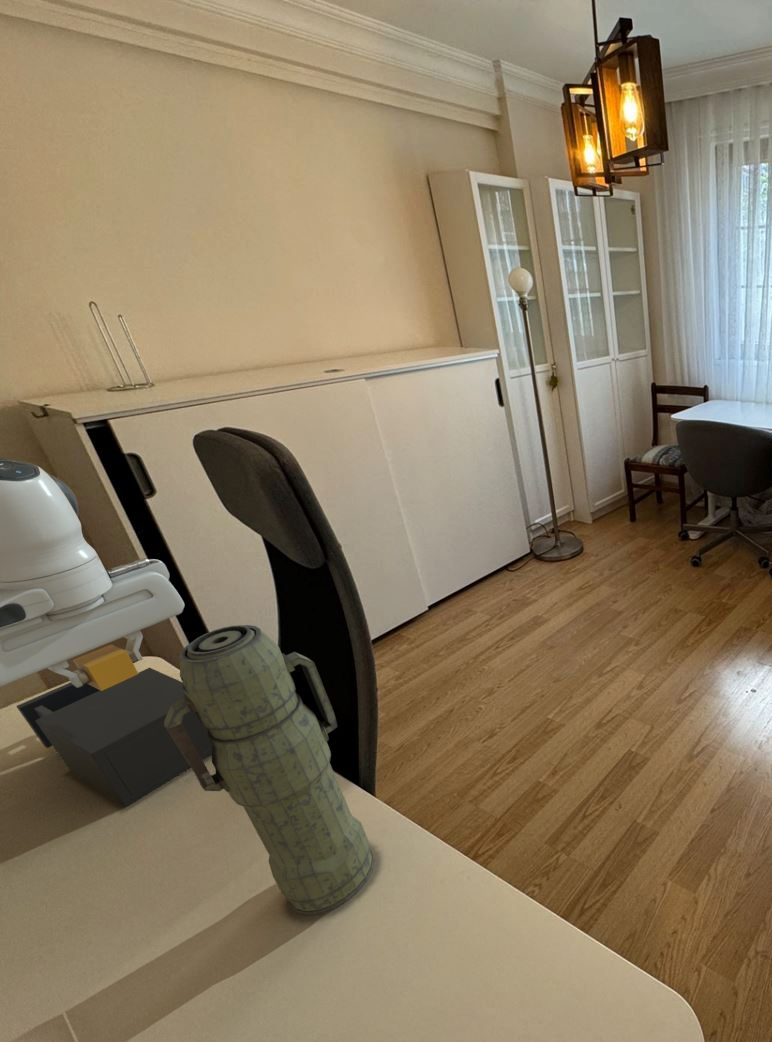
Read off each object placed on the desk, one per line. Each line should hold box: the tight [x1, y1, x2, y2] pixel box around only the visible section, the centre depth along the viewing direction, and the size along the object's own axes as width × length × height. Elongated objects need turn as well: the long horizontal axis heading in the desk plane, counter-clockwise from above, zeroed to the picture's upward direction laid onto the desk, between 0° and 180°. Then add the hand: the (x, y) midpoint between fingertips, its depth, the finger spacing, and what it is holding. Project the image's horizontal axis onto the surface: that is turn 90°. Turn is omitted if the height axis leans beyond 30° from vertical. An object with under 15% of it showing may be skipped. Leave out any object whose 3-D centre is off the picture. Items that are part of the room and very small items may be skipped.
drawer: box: [16, 681, 100, 749], centre depth 88 cm, size 19×12×8 cm, turn 67°
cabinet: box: [35, 667, 212, 808], centre depth 83 cm, size 16×13×10 cm
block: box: [72, 644, 139, 691], centre depth 77 cm, size 4×4×4 cm
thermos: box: [164, 624, 375, 916], centre depth 60 cm, size 9×12×35 cm
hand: (108, 672), depth 77 cm, fingers closed on block, 4 cm apart
